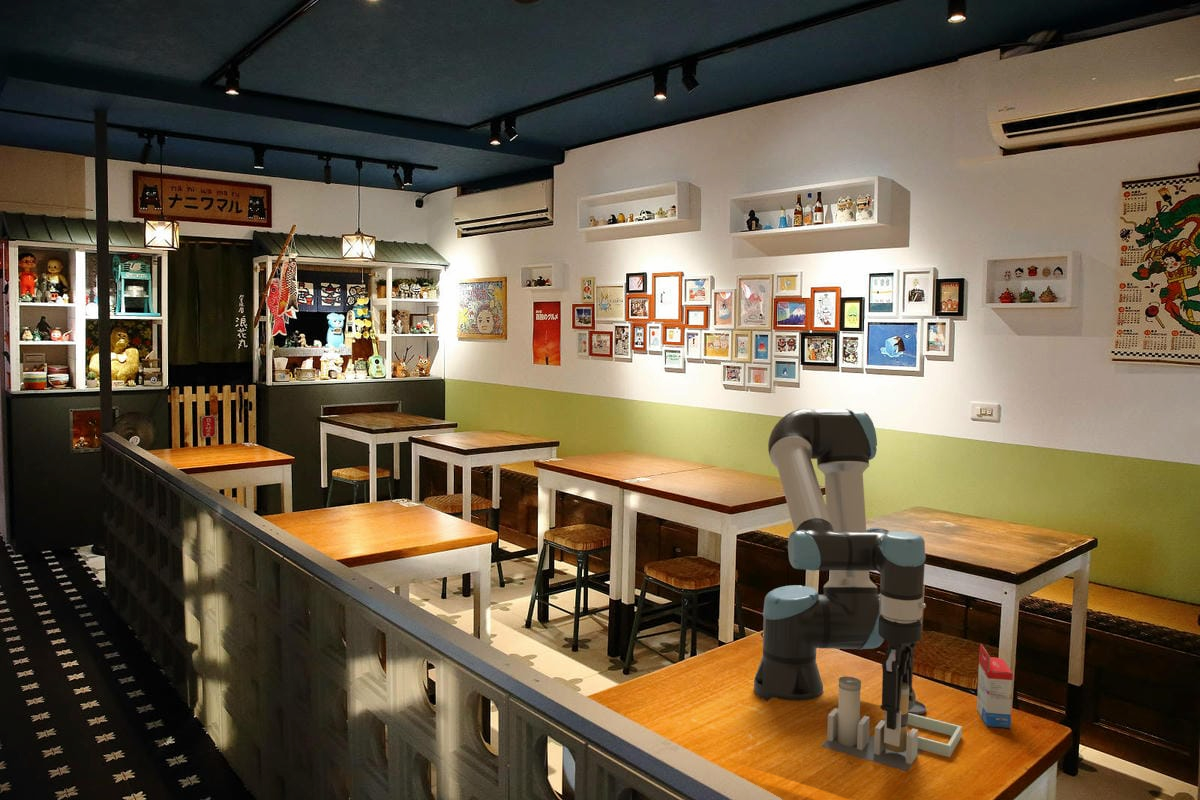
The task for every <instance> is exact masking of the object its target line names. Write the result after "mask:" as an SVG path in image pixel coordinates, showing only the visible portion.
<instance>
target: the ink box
mask: <svg viewBox="0 0 1200 800" xmlns="http://www.w3.org/2000/svg"><path fill="white" fill-rule="evenodd" d="M977 671H978V672H977V673H978V675H977V676H978V677H977V698H976V699H977V700H976V701H977V702H976V710H977V712H978V713H979V715H980V717H981V719H982V721H983V723H984V724H985V726H986V727H995V728H1004V729H1005V728H1006V729H1011V728H1012V727H1011V726H1012V693H1013V674H1014V673H1013V671H1012V670H1011V669H1010V667H1009V666H1008V664H1007V663H1006V662H1005V661H1004V659H1003V658H1001V657H995V656H994V657H993V656H990V654H989V653H988V651H987V650H986V649H985V647H984V645H983V643H980V645H979V654H978V670H977Z"/></svg>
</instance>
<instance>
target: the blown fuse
mask: <svg viewBox="0 0 1200 800" xmlns="http://www.w3.org/2000/svg"><path fill="white" fill-rule="evenodd" d="M908 703H909V685H908V684H907V683H905V682H902V689H901V699H900V711H901V732H900V746H899V747H898V746H895V745H891V744H888V743H884V747H885V748H886V749H888V750H890V751H893V752H905V751H906V743H907V733H908V727H909V725H908Z"/></svg>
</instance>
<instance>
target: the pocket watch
mask: <svg viewBox="0 0 1200 800" xmlns="http://www.w3.org/2000/svg"><path fill="white" fill-rule="evenodd" d="M909 695H910V696H913V701H909V703H908V713H911V714H915V715H923V714H924V713H926V711H927V706H926V705H925V704H924V703H923V702H921V701H919V700H917V699H916V693H915V690H914V688H913V687H912V693H911V694H910V693H909Z"/></svg>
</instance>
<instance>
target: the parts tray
mask: <svg viewBox="0 0 1200 800" xmlns="http://www.w3.org/2000/svg"><path fill="white" fill-rule="evenodd" d="M908 726H912V727H916V728H920V729H924V730H928V731H931V732H936V733H939V734H944V735H948V736H950V739H949V741H948V742H947V743H945V742H941V741H937V740H934V739H929V738H927V737H922V736H919V735H918V746H917V748H918V749H922V750H921V751H925V752H929V753H932V754H936V755H940V756H944V757H947V758H951V756H952V754H953V753H954V751H955V749H956V748H957V746H958V744H959V742H960V740H961V739H962V735H963V734H962V732H963V731H962V729H963V726H962V725H957V724H954V723H949V722H945V721H942V720H938V719H935V718H930V717H926V716H922V715H920V714H918V715H915V714H911V713H908ZM908 734H909V733H908V732H907V735H908Z"/></svg>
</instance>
